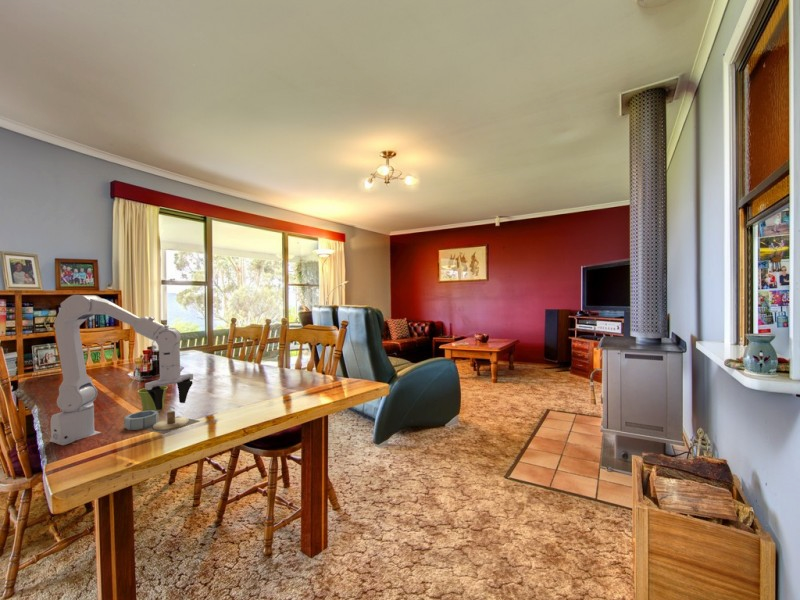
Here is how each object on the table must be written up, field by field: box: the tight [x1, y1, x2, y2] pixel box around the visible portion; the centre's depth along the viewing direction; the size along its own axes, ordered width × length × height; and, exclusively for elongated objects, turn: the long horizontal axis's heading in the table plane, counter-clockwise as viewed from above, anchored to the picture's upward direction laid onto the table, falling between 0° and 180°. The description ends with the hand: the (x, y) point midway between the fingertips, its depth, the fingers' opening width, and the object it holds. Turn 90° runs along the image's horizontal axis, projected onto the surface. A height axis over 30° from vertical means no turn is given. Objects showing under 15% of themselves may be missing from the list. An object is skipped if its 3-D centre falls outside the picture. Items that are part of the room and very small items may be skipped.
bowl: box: [123, 410, 160, 431], centre depth 116 cm, size 9×9×4 cm
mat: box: [141, 416, 200, 435], centre depth 116 cm, size 12×12×1 cm
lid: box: [153, 410, 190, 430], centre depth 116 cm, size 10×10×4 cm
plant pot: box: [137, 385, 169, 412], centre depth 131 cm, size 9×9×9 cm
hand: (171, 406), depth 116 cm, fingers open, 7 cm apart
